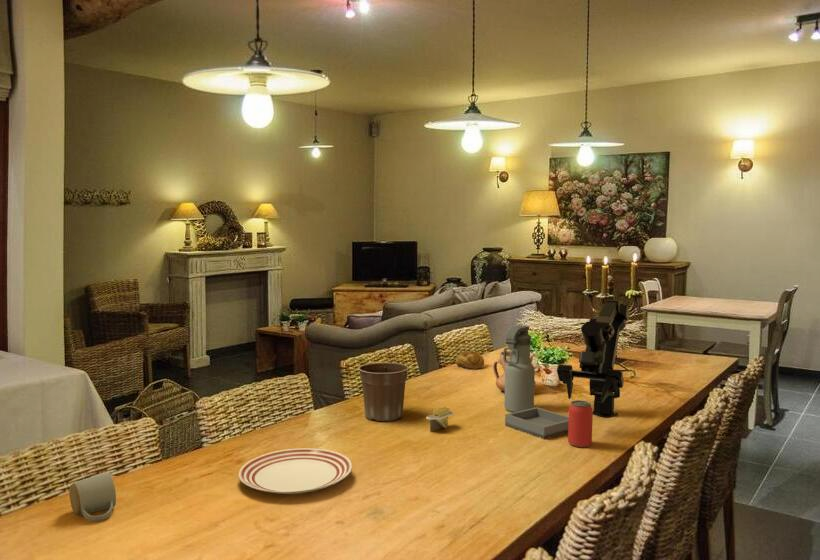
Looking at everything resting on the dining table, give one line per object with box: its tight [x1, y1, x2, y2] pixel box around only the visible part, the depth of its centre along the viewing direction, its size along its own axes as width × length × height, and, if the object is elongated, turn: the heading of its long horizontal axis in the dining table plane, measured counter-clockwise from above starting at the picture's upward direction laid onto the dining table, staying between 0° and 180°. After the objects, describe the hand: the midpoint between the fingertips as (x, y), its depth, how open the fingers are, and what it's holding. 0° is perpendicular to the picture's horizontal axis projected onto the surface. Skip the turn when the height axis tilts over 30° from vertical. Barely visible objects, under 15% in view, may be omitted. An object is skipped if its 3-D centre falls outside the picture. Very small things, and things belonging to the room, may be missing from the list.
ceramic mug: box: [69, 471, 117, 523], centre depth 149 cm, size 11×8×8 cm
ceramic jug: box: [492, 350, 538, 393], centre depth 253 cm, size 18×14×14 cm
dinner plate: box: [238, 447, 353, 495], centre depth 169 cm, size 28×27×3 cm
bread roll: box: [455, 350, 485, 370], centre depth 293 cm, size 13×10×8 cm
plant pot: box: [357, 362, 410, 422], centre depth 221 cm, size 16×16×16 cm
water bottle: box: [503, 324, 536, 413], centre depth 228 cm, size 10×10×28 cm
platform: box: [425, 406, 454, 433], centre depth 208 cm, size 12×18×7 cm, turn 140°
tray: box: [504, 406, 569, 440], centre depth 210 cm, size 14×16×4 cm
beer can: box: [567, 400, 594, 448], centre depth 195 cm, size 7×7×12 cm
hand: (584, 400), depth 199 cm, fingers open, 9 cm apart
